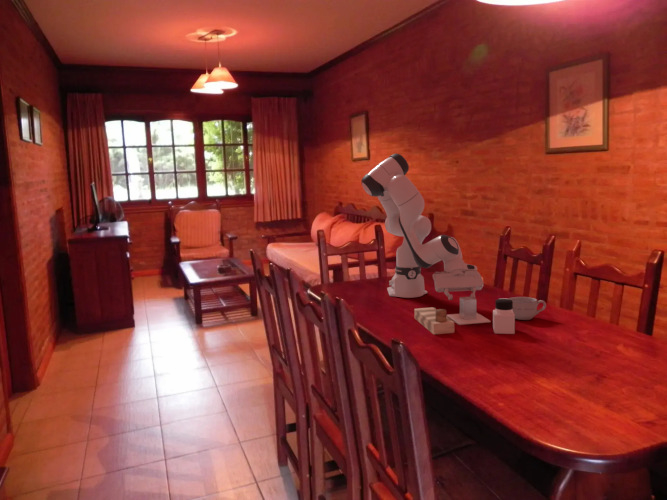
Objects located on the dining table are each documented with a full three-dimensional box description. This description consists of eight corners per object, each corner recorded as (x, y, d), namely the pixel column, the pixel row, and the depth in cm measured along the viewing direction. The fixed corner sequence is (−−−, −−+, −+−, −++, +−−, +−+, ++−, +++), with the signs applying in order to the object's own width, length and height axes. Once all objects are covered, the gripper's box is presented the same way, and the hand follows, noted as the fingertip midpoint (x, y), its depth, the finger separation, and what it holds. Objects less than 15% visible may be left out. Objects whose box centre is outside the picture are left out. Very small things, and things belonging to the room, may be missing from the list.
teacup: (505, 320, 210) (506, 300, 209) (510, 313, 220) (511, 294, 218) (543, 324, 204) (544, 303, 202) (546, 316, 213) (547, 297, 212)
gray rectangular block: (459, 316, 216) (459, 297, 215) (471, 315, 216) (471, 296, 215) (464, 319, 211) (464, 300, 210) (476, 319, 212) (476, 299, 210)
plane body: (414, 318, 217) (414, 299, 216) (433, 316, 219) (433, 297, 217) (433, 334, 196) (433, 313, 195) (454, 332, 197) (454, 311, 196)
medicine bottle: (515, 334, 193) (515, 302, 191) (494, 333, 195) (494, 301, 193) (512, 328, 200) (513, 297, 198) (492, 327, 201) (493, 296, 200)
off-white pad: (446, 315, 219) (446, 314, 219) (476, 313, 221) (476, 312, 221) (459, 324, 206) (459, 323, 206) (490, 322, 209) (490, 320, 209)
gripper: (432, 268, 227) (438, 296, 219) (480, 265, 228) (487, 293, 220) (430, 276, 232) (436, 303, 224) (476, 274, 233) (484, 301, 225)
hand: (462, 298), depth 222 cm, fingers open, 8 cm apart
